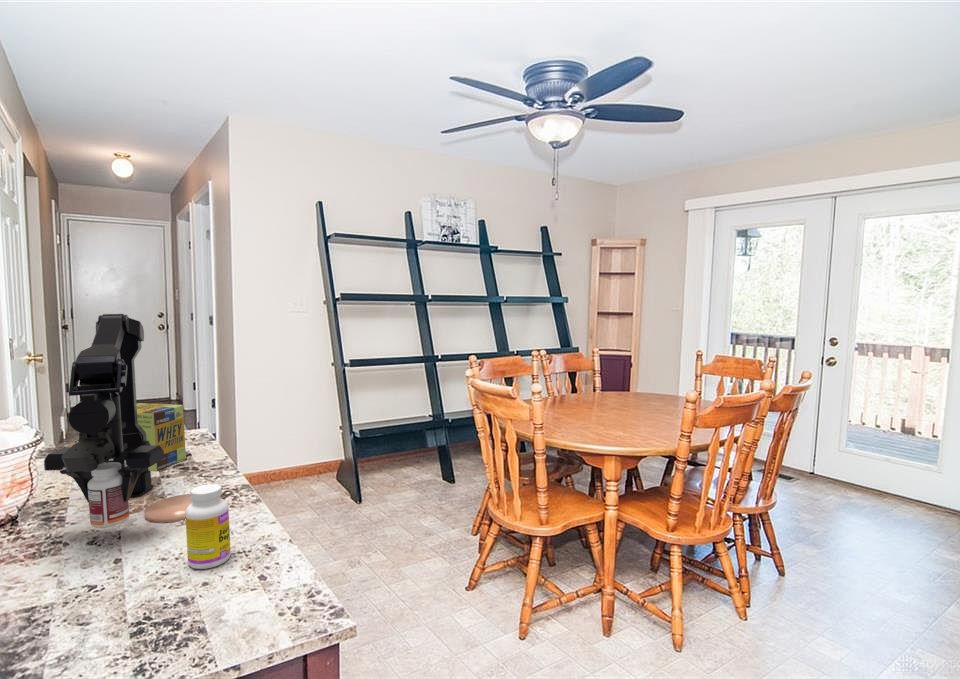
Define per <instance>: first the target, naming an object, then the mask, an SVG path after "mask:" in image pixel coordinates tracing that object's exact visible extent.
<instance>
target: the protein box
mask: <svg viewBox="0 0 960 679" xmlns="http://www.w3.org/2000/svg"><path fill="white" fill-rule="evenodd" d="M136 403H137V402H136ZM137 421H138V424H139V425H140V426H141V427H142V429H143V430H144V431H145V432H146V438H147V441H149V442H150V445H160V447H161V448H162V449H163V450H164V459H162V460H161V461H159V462H157V463H156V464H154V465H152V466H151V467H148V469H149V470H150V471H151V472H159V471H160V470H163V469H165V468H166V469H167V468H168V467H170V466H173V465H175V464H178V463H180V461H181V462H182V460H183V461H186V460H187V451H186V450H187V449H186V435H185V420H184V405H183V404H169V403H168V404H167V403H166V404H165V403H144V402H143V403H142V402H139V403H137ZM185 459H186V460H185Z"/></svg>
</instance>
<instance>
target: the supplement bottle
mask: <svg viewBox="0 0 960 679" xmlns="http://www.w3.org/2000/svg"><path fill="white" fill-rule="evenodd" d="M190 494H191V499H192V501H193V503H192V504H190V505H189V506H188V507H187V509H186V512H185V517H186V520H185V529H186V530H185V531H186V533H185V534H186V550H187V563H188V566H190V568H193V569H197V570H204V569H205V570H206V569H211V568H216V567H218V566H221V565H222V564H224V563H225V562H227V561H228V560H229V558H230V557H231V554H232V553H231V552H232V551H231V533H230V513H229V512H230V511H229V503H228V502H227V501H226V499H224V498H221V496H222V486H221V485H220V484H216V483H215V484H214V483H210V484H203V485H200V486H196V487H194V488H192V489H191V491H190Z"/></svg>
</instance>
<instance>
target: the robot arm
mask: <svg viewBox="0 0 960 679" xmlns="http://www.w3.org/2000/svg"><path fill="white" fill-rule="evenodd" d="M144 340H145V331H144V326H143V324H142V322H141V321H139V320H137V319H134V318H130V317H129V316H128V314H124V313H104V314H101V315H98V318H97V321H96V322H95V335H94V337H93V340H92V343H91V345H90V347H88V348H86V349H83V350H81V351H79V353H78V355H77V357H76V359H75V361H73V362H72V365H71V373H70V380H69V381H70V382H69V389H68V395H69V397H70V396H71V397H72V396H73V397H74V396H79V402H78V403H77V404H75V405H74V406H73V407H72V408H71V410H70V412H69V415H68V417H67V418H68V422H69V424H70V427H71V428H72V429H73V430H75V432H78V440H77V442H75V443H73V444H74V445H73V444H71V445H72V446H71V445H70V446H71V447H69V446H67V447H66V446H65V447H61V448H59V449H58V450H55V451H53V452H50V453H48V454H47V455H46V456H45V458H44V459H43V466H44V471H59V473H60V474H61V475H67V476H68V477H71V478H72V479H73V480H74V481H75V483H76V484H77V485H78V487H79V489H80V491H81V493H82V494H83V496H84V498H85V500H86V502H88V504H89V498H88V482H89V481H90V480H91V479H92V478H93V476H92V474H91V471H93V470H95V469H96V468H97V467H98V465H99V464H102V463H108V462H118V463H121V469H120V470H118V472H119V474H120V475H121V476H122V489H123V499H124V502H127V501H128V502H129V500H130V499H131V498H137V497H141V496H143V495H144V494H145V493H147V492H148V491H150V490H151V489H153V488H154V484H152V474H151V473H152V471H150V470H149V469H148V467H151V466H152V465H154V464H156V463H157V462H159V461H161V460H162V459H164V450H163V449H162V448H161V447H160V445H150V442H149V441H147V438H146V432H145V431H144V430H143V429H142V427H141V426H140V425H139V424H138V421H137V389H136V388H137V387H136V370H135V359H136V357H138V354H139V353H140V352H141V349H142V342H144Z"/></svg>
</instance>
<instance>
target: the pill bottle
mask: <svg viewBox="0 0 960 679" xmlns="http://www.w3.org/2000/svg"><path fill="white" fill-rule="evenodd" d="M120 469H121V463H118V462H108V463H100V464H99V465H98V467H97V468H96V469H95V470H93V471H91V474H92V476H93V478H92V479H91V480H90V481H89V482H88V498H89V503H88V510H89V522H90V525H91V526H92V527H93V528H96V529H105V528H106V529H107V528H110V527H115V526H118V525H120V524H121V525H122V524H123V523H125V522H127V521H128V519H130V506H129V500H128V501H127V502H124V499H123V489H122V476H121V475H120V474H119V472H118V470H120Z"/></svg>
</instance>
